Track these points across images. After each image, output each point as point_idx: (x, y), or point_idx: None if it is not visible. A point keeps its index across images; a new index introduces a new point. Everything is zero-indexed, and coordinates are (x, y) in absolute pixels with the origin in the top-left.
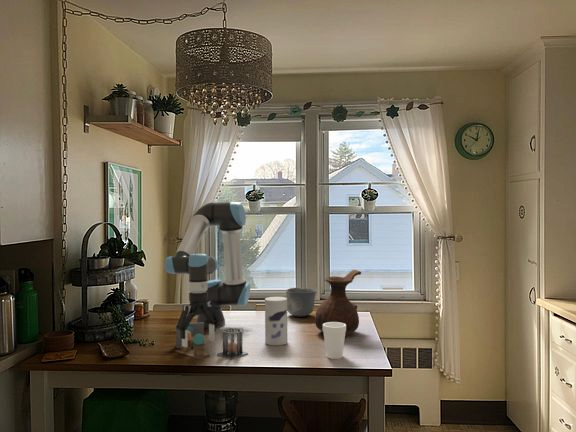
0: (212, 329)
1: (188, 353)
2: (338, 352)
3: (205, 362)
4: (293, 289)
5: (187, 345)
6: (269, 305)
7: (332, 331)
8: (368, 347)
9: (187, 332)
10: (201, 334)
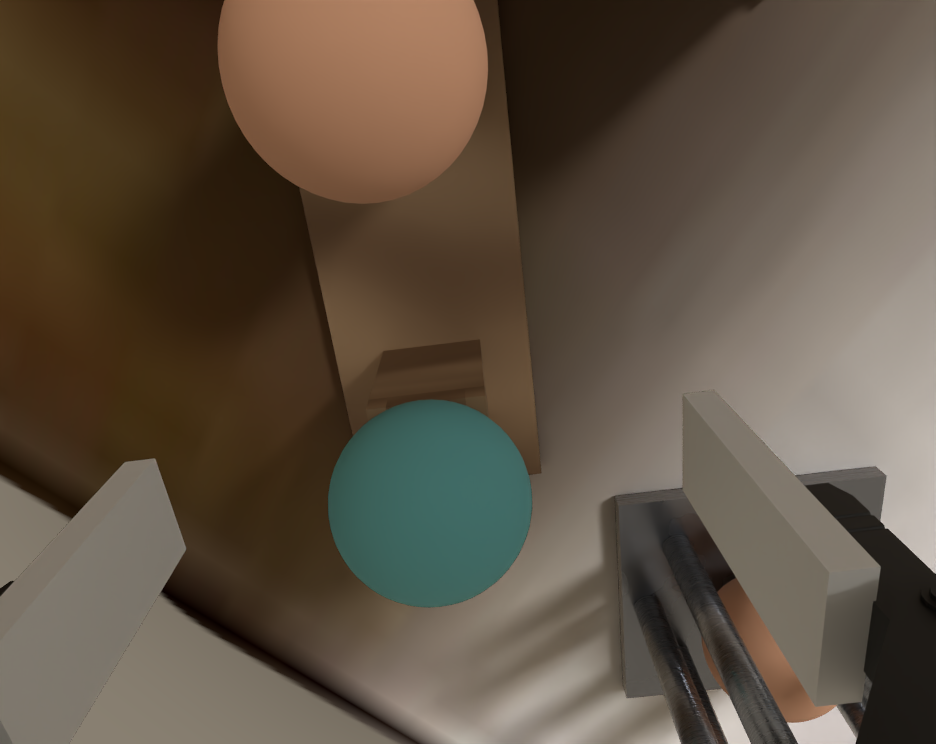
0: (765, 606)
1: (352, 250)
2: None
3: (378, 612)
4: None
5: (177, 563)
6: None
7: None
8: None
9: (344, 166)
10: (478, 573)
